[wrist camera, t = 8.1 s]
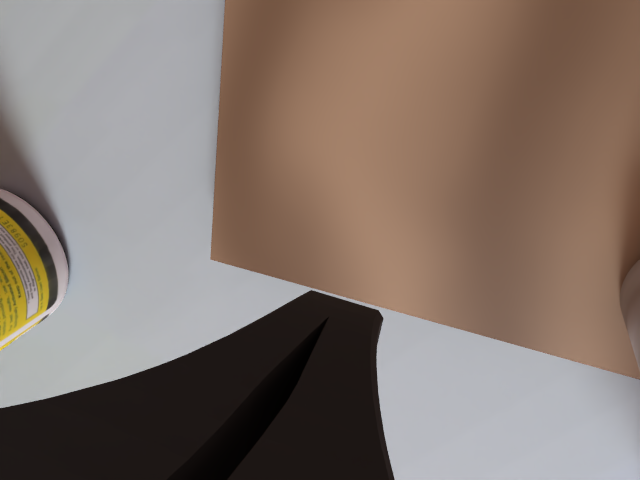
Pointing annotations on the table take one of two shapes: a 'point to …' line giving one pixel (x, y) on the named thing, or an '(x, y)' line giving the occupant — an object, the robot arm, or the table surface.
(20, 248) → the pill bottle
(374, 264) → the stool seat
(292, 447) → the robot arm
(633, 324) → the folding leg
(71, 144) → the table surface
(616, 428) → the table surface
